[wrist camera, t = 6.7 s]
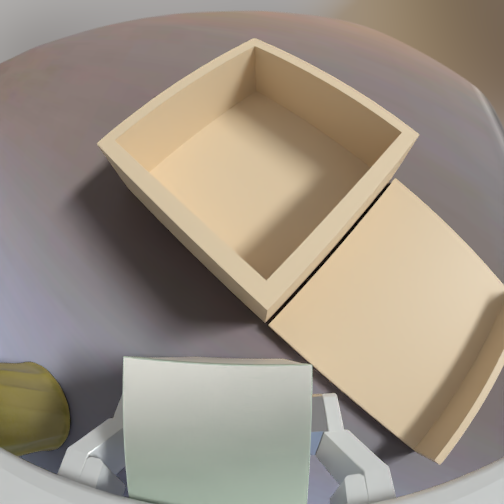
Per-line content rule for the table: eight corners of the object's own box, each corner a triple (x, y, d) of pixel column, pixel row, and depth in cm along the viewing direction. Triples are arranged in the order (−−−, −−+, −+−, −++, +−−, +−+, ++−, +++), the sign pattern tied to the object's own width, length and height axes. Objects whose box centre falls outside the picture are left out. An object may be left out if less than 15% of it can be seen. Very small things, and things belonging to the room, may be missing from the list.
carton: (195, 436, 14) (130, 511, 5) (195, 356, 15) (123, 356, 7) (281, 440, 14) (304, 526, 5) (283, 358, 15) (312, 364, 7)
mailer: (128, 188, 19) (96, 143, 14) (255, 89, 21) (254, 38, 17) (415, 451, 13) (460, 475, 8) (507, 297, 16) (554, 279, 11)
